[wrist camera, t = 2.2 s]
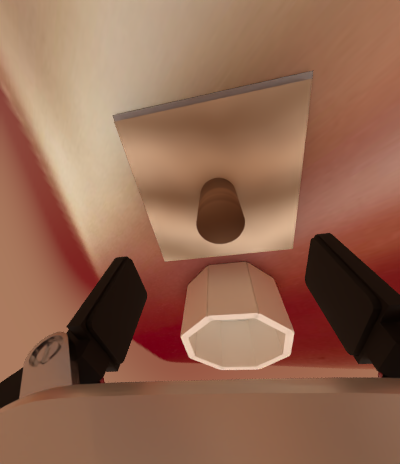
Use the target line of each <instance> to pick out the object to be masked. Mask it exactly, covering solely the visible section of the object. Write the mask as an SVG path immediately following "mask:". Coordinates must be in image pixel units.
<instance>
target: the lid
mask: <svg viewBox="0 0 400 464" xmlns="http://www.w3.org/2000/svg"><path fill="white" fill-rule="evenodd" d="M312 79H313V78H312ZM312 79H308V80H303V81H298V82H294V83H289V84H285V85H280V86H276V87H271V88H266V89H262V90H257V91H253V92H248V93H243V94H239V95H234V96H230V97H225V98H220V99H216V100H211V101H207V102H202V103H198V104H193V105H188V106H184V107H179V108H175V109H170V110H165V111H161V112H156V113H152V114H147V115H142V116H138V117H133V118H129V119H124V120H119V121H115V122H114V123H115V125H116V128H117V131H118V134H119V137H120V139H121V142H122V145H123V148H124V150H125V153H126V156H127V159H128V161H129V164H130V167H131V170H132V172H133V175H134V178H135V181H136V183H137V186H138V189H139V192H140V194H141V197H142V200H143V203H144V206H145V208H146V211H147V214H148V217H149V219H150V222H151V225H152V228H153V230H154V233H155V236H156V239H157V241H158V244H159V247H160V250H161V252H162V255H163V258H164V261H175V260H185V259H195V258H205V257H215V256H225V255H235V254H245V253H255V252H265V251H275V250H285V249H293V242H294V233H295V225H296V216H297V208H298V199H299V190H300V182H301V173H302V165H303V156H304V148H305V139H306V131H307V122H308V114H309V105H310V96H311V88H312Z"/></svg>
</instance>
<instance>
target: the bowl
mask: <svg viewBox="0 0 400 464" xmlns="http://www.w3.org/2000/svg"><path fill="white" fill-rule="evenodd" d="M293 337H294V330H293V328H292V325H291V322H290V320H289V317H288V315H287V312H286V309H285V307H284V304H283V302H282V299H281V296H280V294H279V291H278V289H277V286H276V283H275V281H274V279H273V278H272V277H271V276H269V275H267V274H266V273H264V272H263V271H261V270H259V269H258V268H256V267H254V266H253V265H251V264H250V263H248V262H236V263H225V264H214V265H209V266H207V267H206V268H205V269H204V270H203V271H202V272H201V273H200V274H199V275H198V276H197V277H196V278H195V279H194V280H193V281H192V282H190V283H189V284H188V287H187V295H186V302H185V309H184V316H183V323H182V330H181V339H182V342H183V344H184V346H185V349H186V351H187V353H188V356H189V357H190V358H191V359H194V360H196V361H199V362H201V363H204V364H207V365H209V366H212V367H214V368H217V369H221V370H245V369H246V370H249V369H261V368H263V367H266V366H268V365H270V364H272V363H275V362H277V361H279V360H281V359H283V358H286V357H288V356H289V355H290V354H291V348H292V343H293Z"/></svg>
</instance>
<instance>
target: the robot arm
mask: <svg viewBox="0 0 400 464" xmlns="http://www.w3.org/2000/svg"><path fill="white" fill-rule="evenodd" d="M305 282H306V285H307V287H308V289H309V290H310V292H311V293H312V295H313V297H314V298H315V300H316V302H317V303H318V305H319V307H320V308H321V310H322V312H323V313H324V315H325V317H326V318H327V320H328V322H329V323H330V325H331V327H332V328H333V330H334V331H335V333H336V335H337V336H338V338H339V340H340V341H341V343H342V345H343V346H344V348H345V350H346V351H347V352H348V353H349V354H350V355H353V356H354V358H355V359H356V361H357V362H358V364H373V365H374V367H375V368H376V370H377V371H378V378H290V379H289V378H287V379H237V380H196V381H195V380H194V381H155V382H121V383H105V382H104V378H103V376H104V374H105V372H111V371H112V372H113V371H118V369H119V366H120V364H121V363H123V361H124V359H125V357H126V354H127V351H128V349H129V346H130V343H131V340H132V338H133V335H134V332H135V329H136V327H137V324H138V321H139V318H140V316H141V313H142V310H143V307H144V305H145V302H146V299H147V292H146V290H145V288H144V285H143V283H142V281H141V279H140V277H139V274H138V272H137V270H136V268H135V266H134V263H133V261H132V260H131V259H129V258H128V257H117V258H115V259H114V261H113V262H112V263H111V265H110V266H109V268H108V269H107V271H106V272H105V273H104V275H103V276H102V278H101V279H100V280H99V282H98V283H97V285H96V286H95V288H94V289H93V290H92V292H91V293H90V295H89V296H88V297H87V299H86V300H85V302H84V303H83V304H82V306H81V307H80V309H79V310H78V311H77V313H76V314H75V316H74V317H73V319H72V320H71V321H70V323H69V324H68V325H67V327H68V329H69V330H68V332H67V333H64V332H56V333H53V334H51V335H49V336H47V337H46V338H44V339H43V340H41V341H40V342H39V343H38V344H37V345H36V346H35V347H34V348H33V349H32V350H31V351H30V353H29V354H28V356H27V357H26V359H25V362H24V367H23V368H21V369H20V370H19V371H17V372H16V373H14V374H13V375H11V376H10V377H8V378H7V379H5V380H4V381H2V382H1V383H0V464H400V295H399V294H398V293H397V292H396V291H395V290H394V289H392V288H391V287H390V286H389V285H388V284H387V283H386V282H385V281H383V280H382V279H381V278H380V277H379V276H378V275H377V274H376V273H375V272H373V271H372V270H371V269H370V268H369V267H368V266H367V265H366V264H364V263H363V262H362V261H361V260H360V259H359V258H358V257H357V256H355V255H354V254H353V253H352V252H351V251H350V250H349V249H348V248H347V247H345V246H344V245H343V244H342V243H341V242H340V241H339V240H338V239H336V238H335V237H334V236H333V235H332V234H330V233H325V234H317V235H315V237H314V238H312V239H311V242H310V249H309V255H308V262H307V268H306V274H305Z"/></svg>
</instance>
